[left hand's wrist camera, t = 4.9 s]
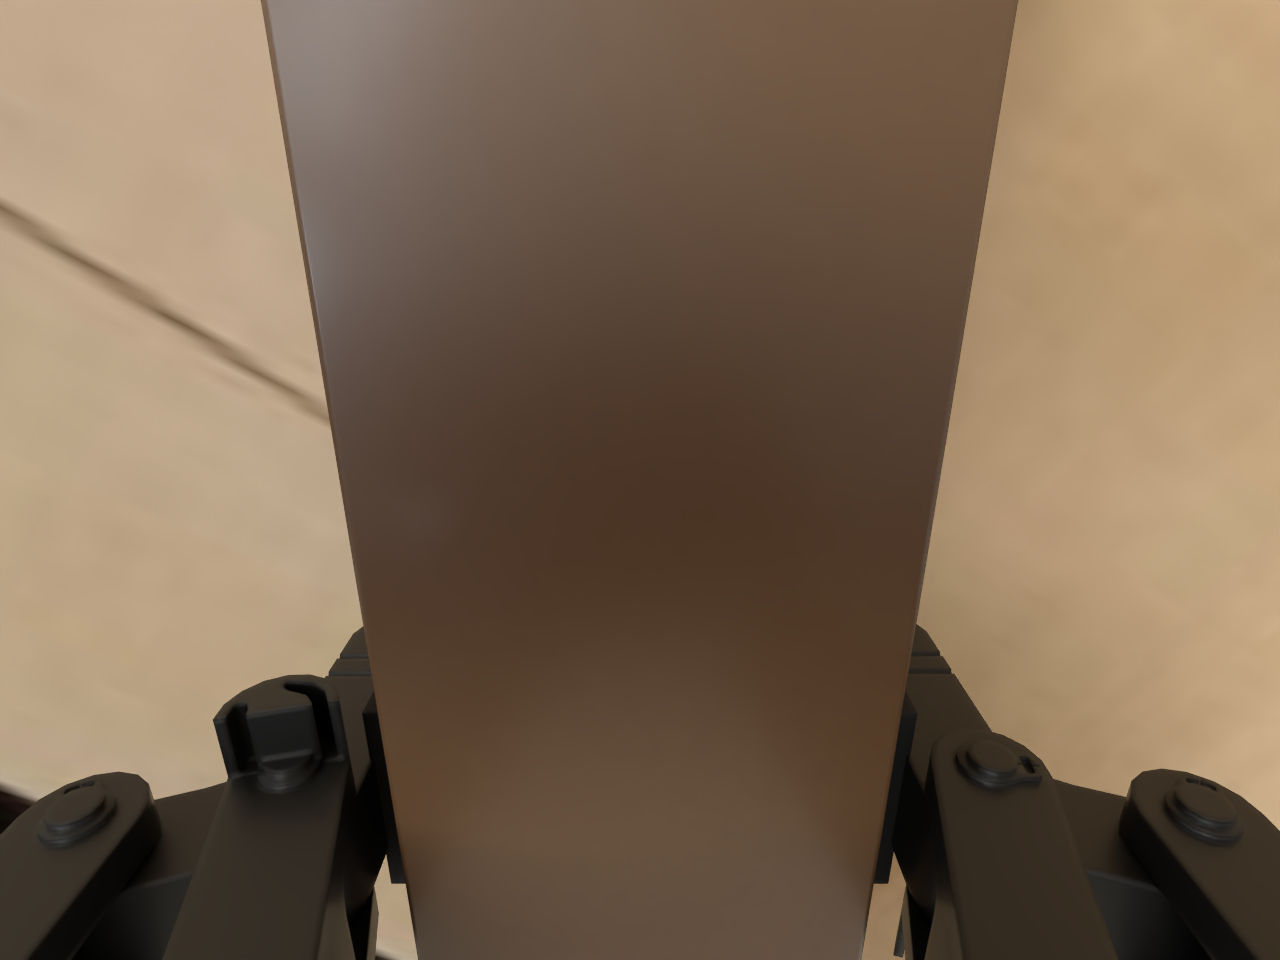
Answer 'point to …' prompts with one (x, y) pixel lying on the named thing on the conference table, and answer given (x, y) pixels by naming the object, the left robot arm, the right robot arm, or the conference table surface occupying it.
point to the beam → (639, 438)
